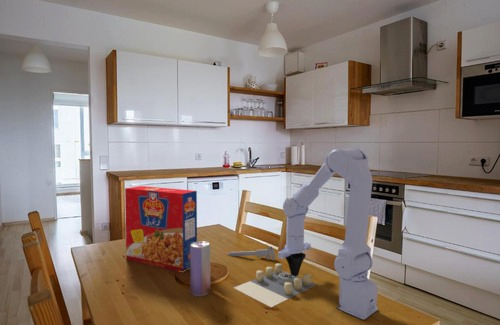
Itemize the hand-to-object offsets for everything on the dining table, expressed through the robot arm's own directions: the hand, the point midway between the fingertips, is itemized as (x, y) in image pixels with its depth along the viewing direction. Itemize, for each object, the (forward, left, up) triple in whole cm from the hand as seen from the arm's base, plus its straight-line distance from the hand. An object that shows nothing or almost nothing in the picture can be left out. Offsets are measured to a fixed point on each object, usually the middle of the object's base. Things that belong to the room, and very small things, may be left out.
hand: (294, 275), depth 106 cm
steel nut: (0, +5, -1) cm, 5 cm away
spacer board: (0, +10, -2) cm, 10 cm away
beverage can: (+14, +28, -2) cm, 31 cm away
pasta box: (+45, +25, -2) cm, 51 cm away
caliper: (+25, -3, -2) cm, 25 cm away
